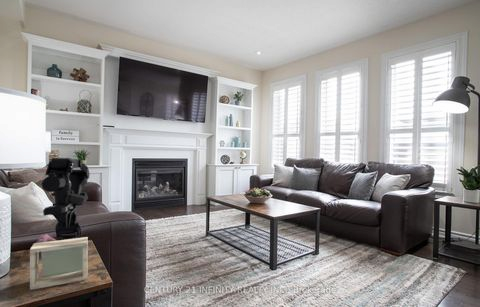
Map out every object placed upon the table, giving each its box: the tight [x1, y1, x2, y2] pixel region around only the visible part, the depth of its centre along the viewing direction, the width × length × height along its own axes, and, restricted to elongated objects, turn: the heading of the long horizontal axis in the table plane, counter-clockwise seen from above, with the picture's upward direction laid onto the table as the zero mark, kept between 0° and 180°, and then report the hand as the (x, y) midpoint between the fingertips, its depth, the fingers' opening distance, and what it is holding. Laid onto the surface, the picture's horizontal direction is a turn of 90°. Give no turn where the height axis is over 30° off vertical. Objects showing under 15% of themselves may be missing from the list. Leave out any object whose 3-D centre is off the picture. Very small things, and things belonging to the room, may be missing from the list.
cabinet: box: [29, 236, 89, 291], centre depth 91 cm, size 6×16×13 cm, turn 117°
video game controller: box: [35, 234, 57, 243], centre depth 119 cm, size 10×5×7 cm, turn 22°
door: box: [40, 246, 83, 278], centre depth 95 cm, size 3×12×10 cm, turn 120°
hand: (66, 227), depth 107 cm, fingers closed
